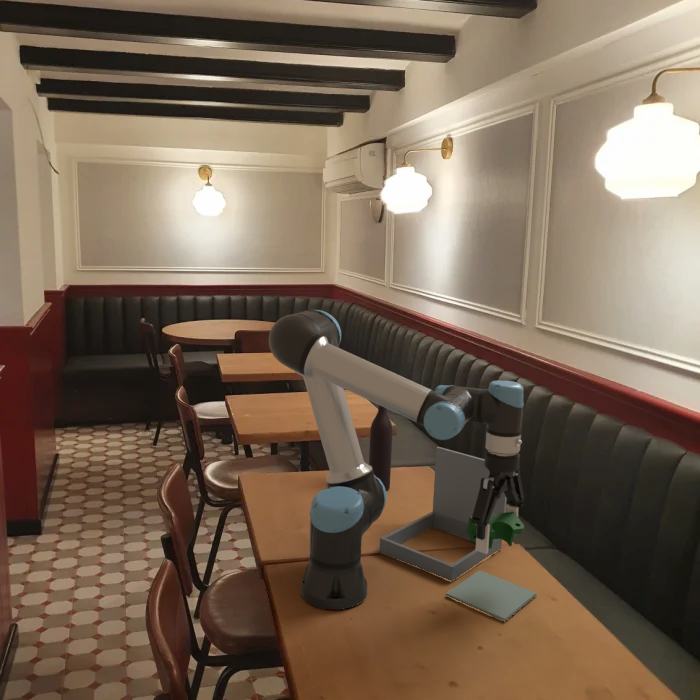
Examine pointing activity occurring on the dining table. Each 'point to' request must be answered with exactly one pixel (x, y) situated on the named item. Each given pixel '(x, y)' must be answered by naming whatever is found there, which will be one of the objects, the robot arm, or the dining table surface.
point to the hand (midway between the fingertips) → (496, 542)
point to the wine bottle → (381, 446)
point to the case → (447, 514)
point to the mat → (492, 595)
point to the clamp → (499, 527)
